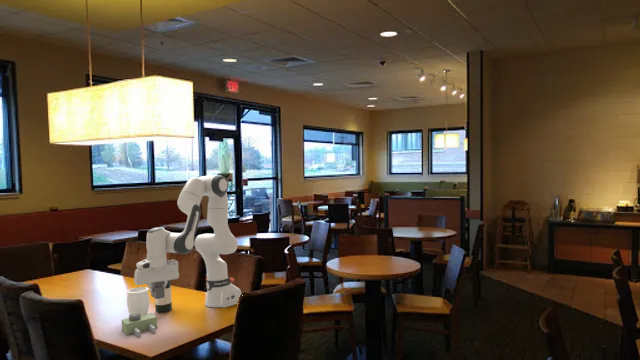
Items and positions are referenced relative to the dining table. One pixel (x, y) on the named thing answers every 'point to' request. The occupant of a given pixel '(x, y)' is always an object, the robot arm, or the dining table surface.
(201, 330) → the dining table surface
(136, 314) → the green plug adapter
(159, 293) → the upright grey box
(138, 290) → the jar
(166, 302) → the wine bottle
